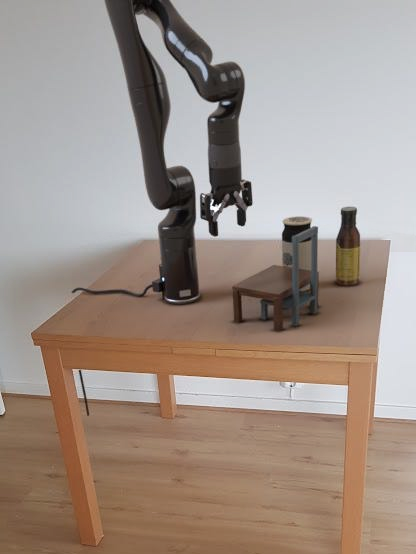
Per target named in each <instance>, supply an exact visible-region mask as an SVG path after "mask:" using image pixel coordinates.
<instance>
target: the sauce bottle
mask: <svg viewBox="0 0 416 554" xmlns="http://www.w3.org/2000/svg"><path fill="white" fill-rule="evenodd" d="M357 213H358V208H357V207H356V206H343V207H342V208H340V217H341V219H340V220H341V223H340V227H339V231H338V233H337V236H336V239H335V280H336V284H337V285H341V286H347V287H351V286H354V285H358V284H359V282H360V281H359V280H360V275H361V272H360V271H361V233H360V230H359V229H358V227H357Z"/></svg>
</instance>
